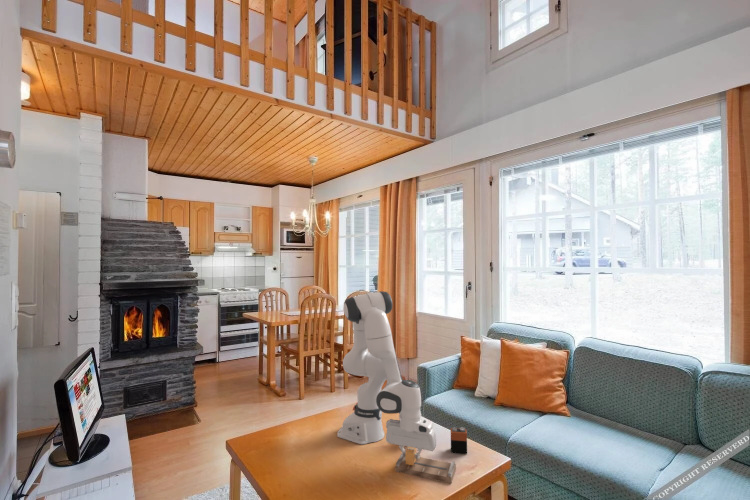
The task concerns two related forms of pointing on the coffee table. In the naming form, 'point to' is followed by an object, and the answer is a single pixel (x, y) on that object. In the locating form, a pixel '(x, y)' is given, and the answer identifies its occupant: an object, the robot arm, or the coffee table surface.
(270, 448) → the coffee table surface
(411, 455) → the fader knob
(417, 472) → the fader board
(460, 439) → the battery
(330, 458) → the coffee table surface
